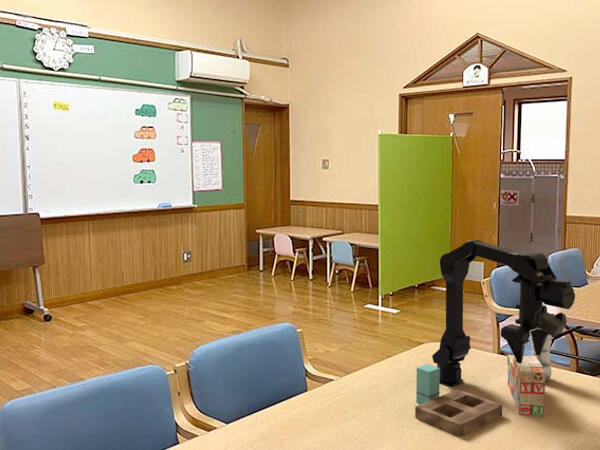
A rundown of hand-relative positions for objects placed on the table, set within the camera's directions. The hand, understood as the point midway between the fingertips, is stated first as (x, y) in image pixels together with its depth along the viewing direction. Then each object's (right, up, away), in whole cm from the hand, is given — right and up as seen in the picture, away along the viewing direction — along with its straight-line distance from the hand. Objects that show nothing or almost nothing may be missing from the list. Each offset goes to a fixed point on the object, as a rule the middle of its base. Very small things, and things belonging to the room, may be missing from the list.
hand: (528, 359), depth 154 cm
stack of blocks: (+2, -14, +9) cm, 16 cm away
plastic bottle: (+12, -12, +23) cm, 29 cm away
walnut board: (-19, -15, -1) cm, 24 cm away
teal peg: (-25, -14, +8) cm, 30 cm away
